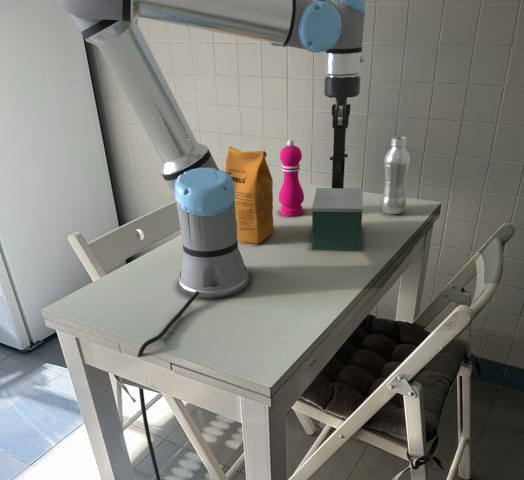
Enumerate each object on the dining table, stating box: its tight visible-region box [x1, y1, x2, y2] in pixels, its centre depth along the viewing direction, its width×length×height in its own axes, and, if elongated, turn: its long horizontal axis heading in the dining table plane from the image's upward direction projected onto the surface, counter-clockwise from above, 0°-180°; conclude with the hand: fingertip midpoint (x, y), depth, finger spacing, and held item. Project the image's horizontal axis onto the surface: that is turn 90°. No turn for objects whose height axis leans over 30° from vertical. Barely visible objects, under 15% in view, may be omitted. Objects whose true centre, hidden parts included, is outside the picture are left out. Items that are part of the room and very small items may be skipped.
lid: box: [311, 187, 364, 213], centre depth 129 cm, size 15×12×1 cm
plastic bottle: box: [380, 135, 411, 215], centre depth 143 cm, size 6×7×20 cm
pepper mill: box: [278, 139, 305, 217], centre depth 146 cm, size 7×7×20 cm
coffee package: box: [224, 146, 275, 245], centre depth 133 cm, size 10×12×22 cm
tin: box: [311, 210, 363, 251], centre depth 132 cm, size 15×12×10 cm
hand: (337, 187), depth 125 cm, fingers closed
